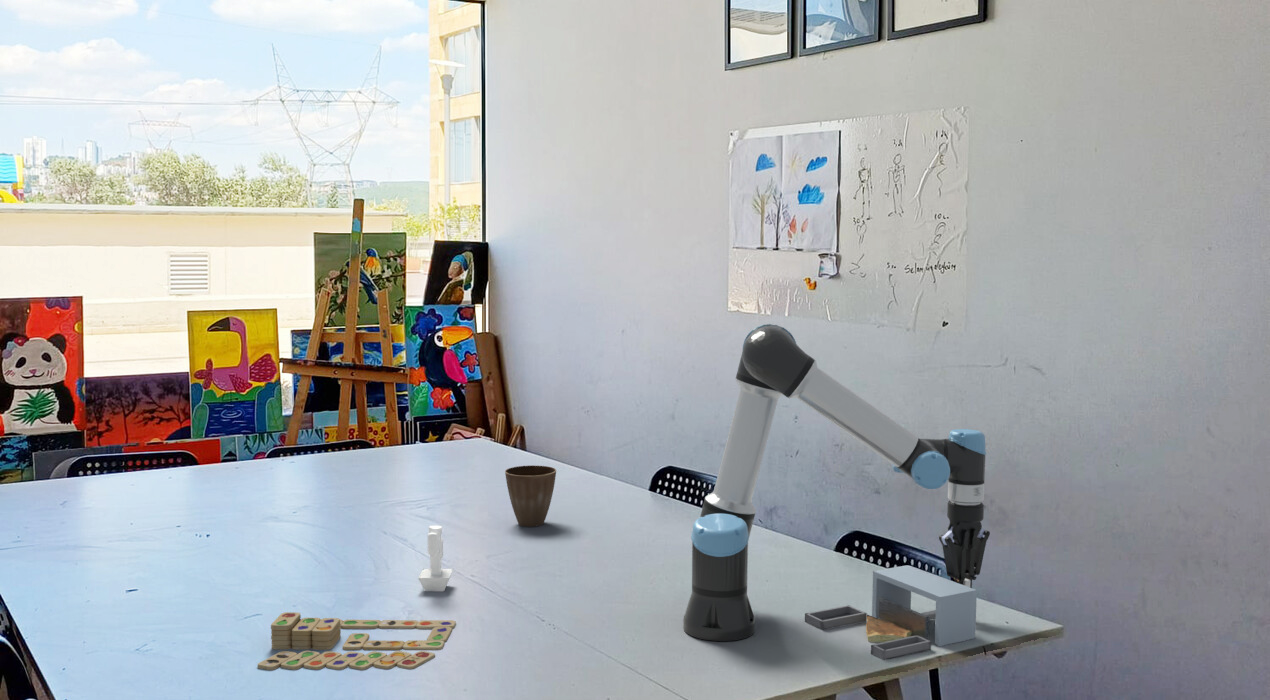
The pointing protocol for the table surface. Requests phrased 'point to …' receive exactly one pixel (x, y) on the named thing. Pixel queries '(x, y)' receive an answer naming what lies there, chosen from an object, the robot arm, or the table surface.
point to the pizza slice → (884, 630)
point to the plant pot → (530, 493)
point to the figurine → (435, 563)
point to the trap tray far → (835, 617)
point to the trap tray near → (900, 647)
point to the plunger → (906, 617)
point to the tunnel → (950, 598)
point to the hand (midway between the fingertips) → (962, 608)
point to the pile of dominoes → (349, 643)
